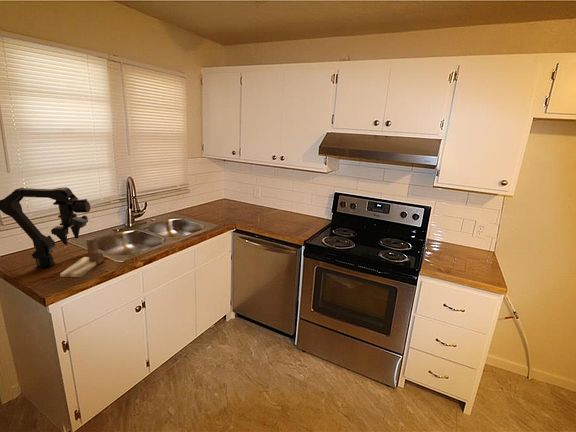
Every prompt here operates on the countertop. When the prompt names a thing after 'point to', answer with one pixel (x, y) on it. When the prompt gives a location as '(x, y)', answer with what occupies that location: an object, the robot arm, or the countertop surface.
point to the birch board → (79, 268)
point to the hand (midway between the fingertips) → (71, 241)
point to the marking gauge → (94, 251)
